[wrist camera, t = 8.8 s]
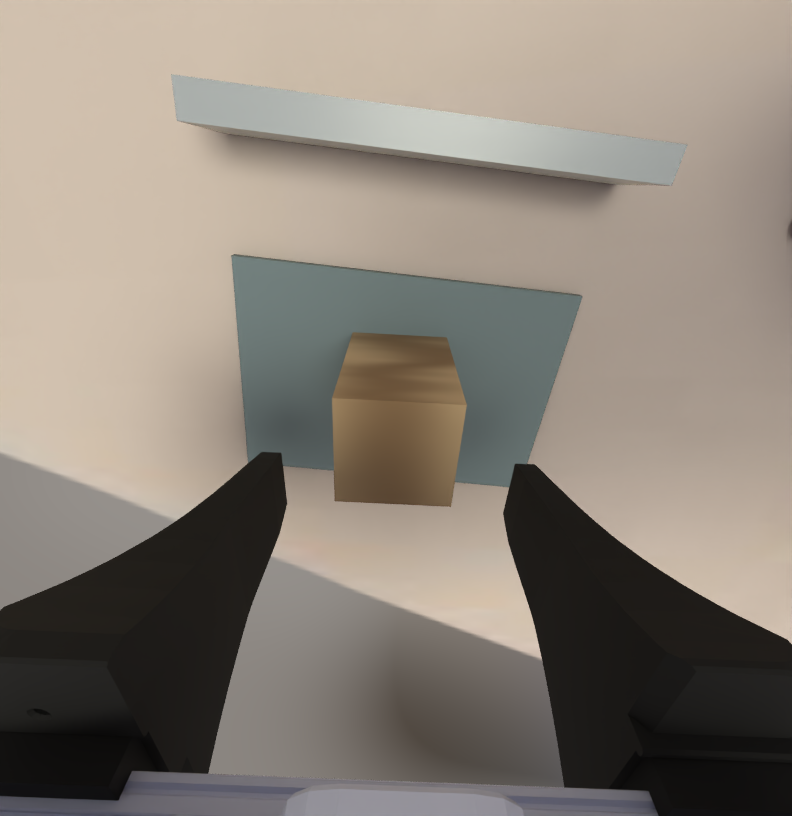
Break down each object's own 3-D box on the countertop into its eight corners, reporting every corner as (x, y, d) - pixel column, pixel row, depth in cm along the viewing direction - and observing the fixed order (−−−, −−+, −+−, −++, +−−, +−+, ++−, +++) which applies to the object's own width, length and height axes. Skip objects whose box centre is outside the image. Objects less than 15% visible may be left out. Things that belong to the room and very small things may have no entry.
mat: (579, 294, 17) (582, 296, 17) (517, 484, 22) (518, 488, 21) (234, 254, 16) (231, 255, 16) (250, 459, 21) (248, 462, 21)
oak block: (446, 337, 17) (466, 405, 12) (437, 418, 19) (450, 506, 14) (352, 332, 17) (332, 398, 12) (352, 413, 19) (334, 500, 14)
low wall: (626, 152, 14) (687, 144, 11) (616, 184, 15) (671, 185, 12) (222, 97, 14) (171, 74, 11) (224, 133, 14) (176, 120, 11)
